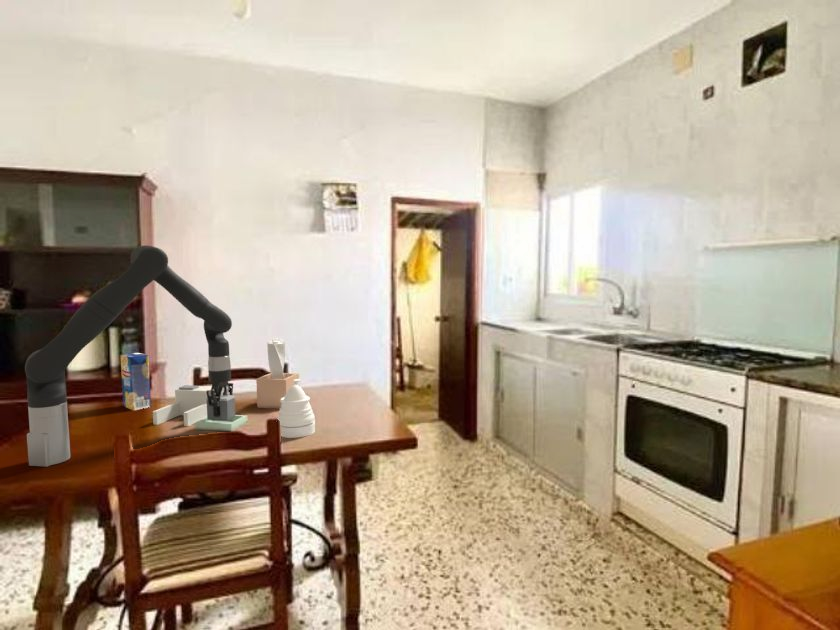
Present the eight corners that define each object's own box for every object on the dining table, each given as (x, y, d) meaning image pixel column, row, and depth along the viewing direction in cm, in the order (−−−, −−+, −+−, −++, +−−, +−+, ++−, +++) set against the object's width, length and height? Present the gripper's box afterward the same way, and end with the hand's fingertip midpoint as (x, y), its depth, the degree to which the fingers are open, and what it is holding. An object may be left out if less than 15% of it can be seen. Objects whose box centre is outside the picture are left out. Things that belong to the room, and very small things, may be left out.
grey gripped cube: (227, 420, 181) (227, 398, 180) (206, 419, 182) (206, 397, 182) (235, 416, 186) (234, 395, 185) (215, 415, 188) (214, 394, 187)
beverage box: (140, 402, 219) (137, 352, 217) (151, 407, 212) (148, 355, 210) (123, 406, 214) (120, 354, 212) (133, 410, 207) (130, 357, 205)
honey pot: (286, 425, 184) (285, 376, 183) (320, 427, 182) (319, 377, 180) (270, 436, 171) (268, 384, 170) (306, 438, 169) (305, 385, 168)
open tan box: (286, 408, 207) (286, 379, 206) (257, 407, 210) (256, 378, 209) (299, 400, 220) (298, 373, 219) (271, 399, 222) (270, 372, 221)
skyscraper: (286, 405, 211) (284, 338, 208) (266, 405, 211) (264, 338, 208) (290, 400, 219) (289, 336, 217) (272, 400, 219) (270, 336, 217)
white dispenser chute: (187, 426, 184) (186, 397, 183) (153, 424, 187) (152, 395, 186) (220, 410, 205) (219, 384, 204) (188, 409, 207) (187, 383, 206)
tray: (231, 431, 178) (231, 424, 178) (195, 429, 180) (195, 422, 180) (247, 422, 189) (247, 415, 189) (213, 420, 191) (212, 414, 191)
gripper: (217, 372, 175) (219, 420, 177) (239, 364, 189) (241, 409, 191) (198, 371, 176) (200, 419, 178) (221, 364, 191) (222, 408, 192)
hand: (221, 414), depth 184 cm, fingers closed on grey gripped cube, 5 cm apart
